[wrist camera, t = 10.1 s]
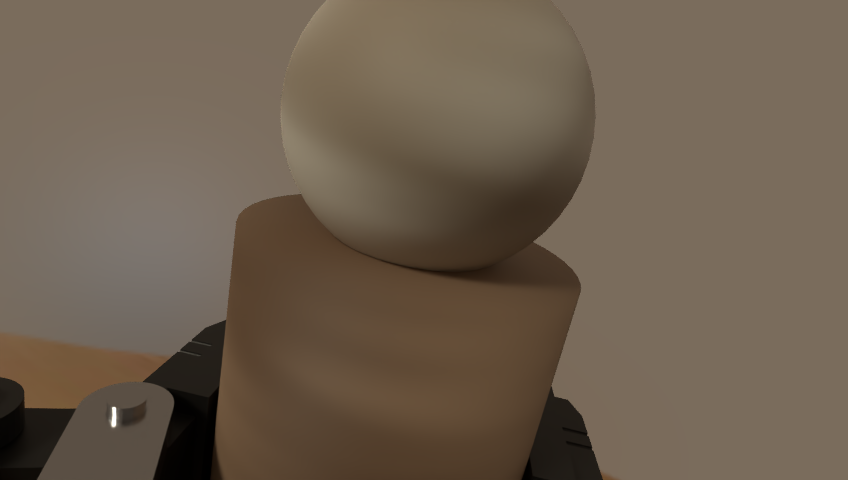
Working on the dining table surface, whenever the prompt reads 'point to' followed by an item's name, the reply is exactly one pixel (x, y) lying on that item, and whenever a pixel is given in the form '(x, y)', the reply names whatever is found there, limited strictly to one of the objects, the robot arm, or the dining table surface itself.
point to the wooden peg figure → (408, 247)
